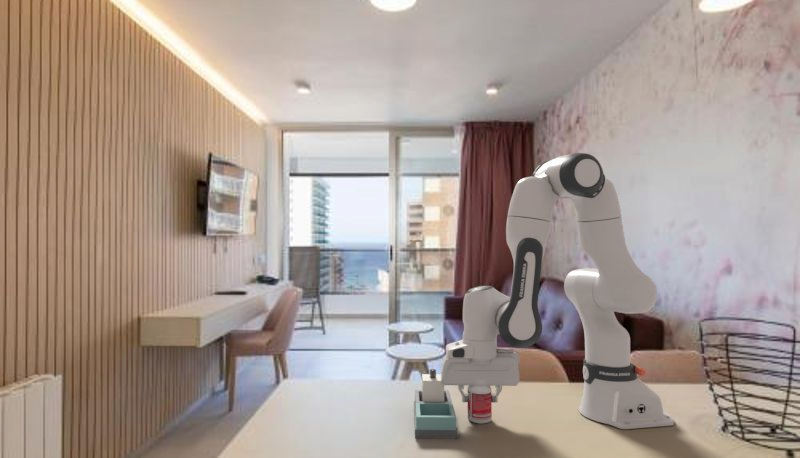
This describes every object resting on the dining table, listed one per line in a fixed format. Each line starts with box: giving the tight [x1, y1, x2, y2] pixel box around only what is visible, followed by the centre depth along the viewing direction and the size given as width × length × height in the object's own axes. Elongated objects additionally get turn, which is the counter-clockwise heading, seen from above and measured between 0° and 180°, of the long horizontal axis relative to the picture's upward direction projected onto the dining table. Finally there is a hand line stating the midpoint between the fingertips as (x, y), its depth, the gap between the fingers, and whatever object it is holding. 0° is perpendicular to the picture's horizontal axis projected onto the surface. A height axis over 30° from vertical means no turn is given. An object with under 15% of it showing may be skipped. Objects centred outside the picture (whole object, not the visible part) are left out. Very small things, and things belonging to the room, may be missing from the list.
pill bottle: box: [467, 379, 493, 424], centre depth 116 cm, size 6×6×11 cm
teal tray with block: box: [413, 368, 458, 439], centre depth 114 cm, size 10×18×12 cm, turn 179°
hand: (479, 401), depth 116 cm, fingers closed on pill bottle, 6 cm apart
